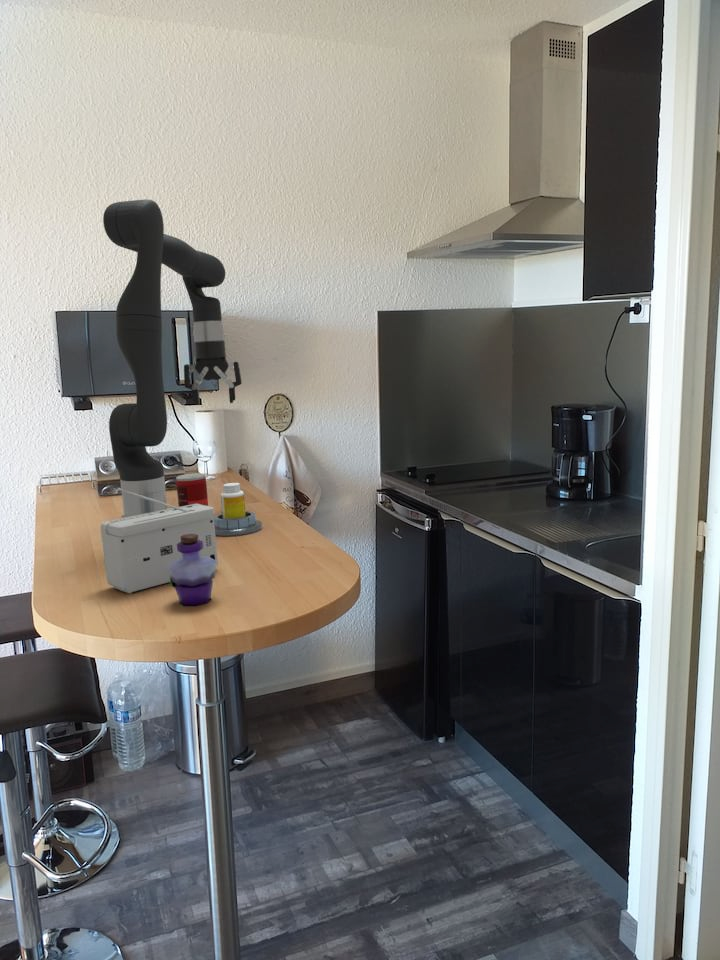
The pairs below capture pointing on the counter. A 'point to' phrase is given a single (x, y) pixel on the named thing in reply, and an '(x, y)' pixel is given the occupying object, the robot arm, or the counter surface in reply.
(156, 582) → the stereo radio cassette player
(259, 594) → the counter surface
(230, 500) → the supplement bottle
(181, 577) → the potion bottle
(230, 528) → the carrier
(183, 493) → the canned food
